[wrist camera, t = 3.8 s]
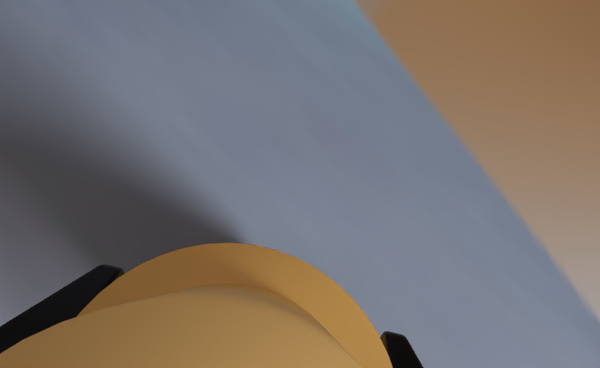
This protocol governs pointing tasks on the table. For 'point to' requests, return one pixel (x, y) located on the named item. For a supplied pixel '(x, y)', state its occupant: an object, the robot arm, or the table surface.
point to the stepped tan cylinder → (212, 318)
